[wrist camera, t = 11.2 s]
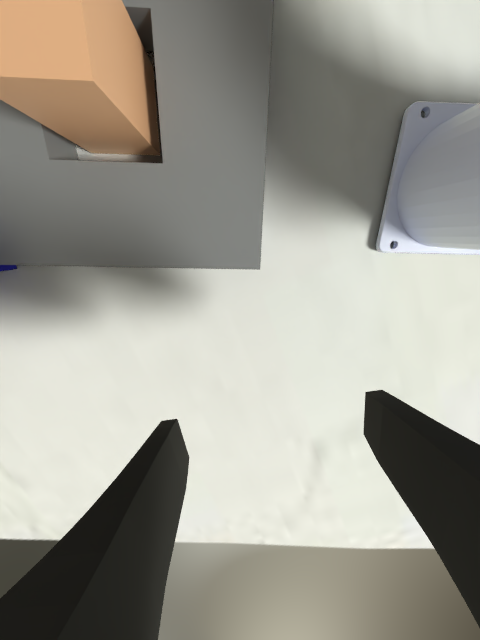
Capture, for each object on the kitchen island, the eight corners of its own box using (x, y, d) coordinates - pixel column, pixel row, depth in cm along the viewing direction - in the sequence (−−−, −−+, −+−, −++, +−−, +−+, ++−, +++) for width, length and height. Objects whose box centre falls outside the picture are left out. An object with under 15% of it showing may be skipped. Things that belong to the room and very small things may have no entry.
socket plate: (272, -96, 10) (283, -191, 8) (256, 264, 16) (259, 269, 14) (-98, -122, 10) (-200, -233, 8) (17, 260, 15) (-22, 264, 13)
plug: (153, 67, 12) (61, -127, 6) (160, 155, 14) (93, 81, 7) (76, 62, 12) (-108, -142, 6) (91, 153, 14) (-43, 74, 7)
